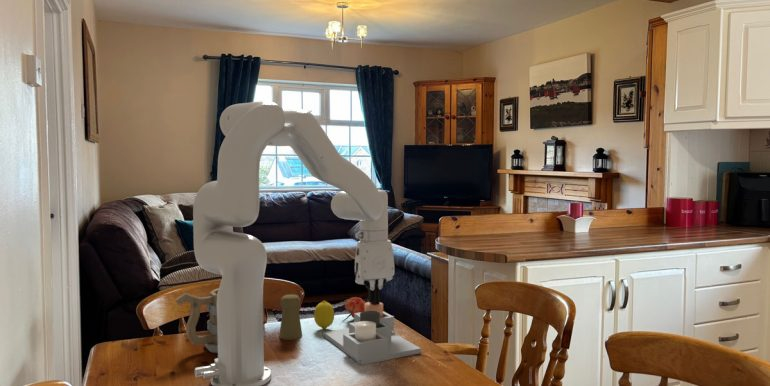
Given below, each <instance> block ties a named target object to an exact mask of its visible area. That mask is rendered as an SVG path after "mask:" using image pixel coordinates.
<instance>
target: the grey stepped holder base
mask: <svg viewBox="0 0 770 386" xmlns="http://www.w3.org/2000/svg"><path fill="white" fill-rule="evenodd" d="M360 313H361V312H360ZM360 313H354V318H353V322H349V323H348V327H346V328H339V329H334V330H328V331H323V332H322V333H323V334H322V335H323V337H324V338H325V339H326V340H328V342H330V343H331V344H333V345H334V346H336V347H337V348H338V349H340V350H341V351H342V352H344V353H345V354H346V355H348V356H349V357H350V358H352V359H353V360H355V361H356V362H357V363H359V364H360V365H361V366H362V365H363V366H364V365H367V364H368V365H369V364H373V363H378V362H382V361H388V360H392V359H393V360H394V359H397V358H402V357H408V356H414V355H419V354H421V352H422V351H421V347H419V346H418V345H416V344H414V343H412V342H410V341H408V340H406V338H403V337H402V336H400V335H398V334H397V333H394V331H395V316H394V315H391V314H389V313H388V312H386V311H384V310H383V317H382V318H380V328H376V339H375V340H370V341H364V342H359V341H357V340H356V339H355V323H357V322H360Z"/></svg>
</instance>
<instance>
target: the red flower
mask: <svg viewBox="0 0 770 386" xmlns="http://www.w3.org/2000/svg"><path fill="white" fill-rule="evenodd" d="M368 301H369V300H368V297H367V298H364V299H362V298H361V297H357V296H353V297H350V298H349V299H348V300H347V301H346V303H345V304H344V308H345V310H346V311H348V313H349V314H348V316H346V317H345V318H344V319H343V320H341V322H342V323H344V322H345V321H346V320H347V319H348V318H350V316H351V318H353V319H354V313H360V312H364V311H365V303H367V302H368Z"/></svg>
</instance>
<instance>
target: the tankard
mask: <svg viewBox="0 0 770 386" xmlns="http://www.w3.org/2000/svg"><path fill="white" fill-rule="evenodd" d="M218 290H219V287H218V288H216V289H213V290H211V291H209V293H208V294H209V296H203V297H199V296H195V295H192V294H189V293H186V292H184V293H182V294H181V295H180V296H178V297H177V298H175V302H176V303H177V305H178V306H182V305H183V304H184V303H189V304H190V311H189V312H190V314H189V316H188V319H187V323H186V325H185V329H186V330H185V331H186V336H187V338H188V339H189V342H190V343H192V345H197V346H198V345H201V346H202V345H204V346H205V348H206V349H207V350H208V351H209V352H210V353H214V354H218V337H217V294H218ZM202 305H203V306H204V305H206V311H207V312H208V313H209V319H208V320H207V321H206V324H207V326H206V327H207V329H206V330H207V331H208V332H209V333H208V334H207V333H206V334H205V335H199V334H197V330H196V327H197V324H198V322H199V318H200V314H201V306H202Z"/></svg>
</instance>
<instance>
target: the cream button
mask: <svg viewBox="0 0 770 386" xmlns="http://www.w3.org/2000/svg"><path fill="white" fill-rule="evenodd" d="M355 339H356V340H357V341H359V342H364V341H370V340H375V339H376V323H374V322H371V321H361V322H357V323H355Z"/></svg>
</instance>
